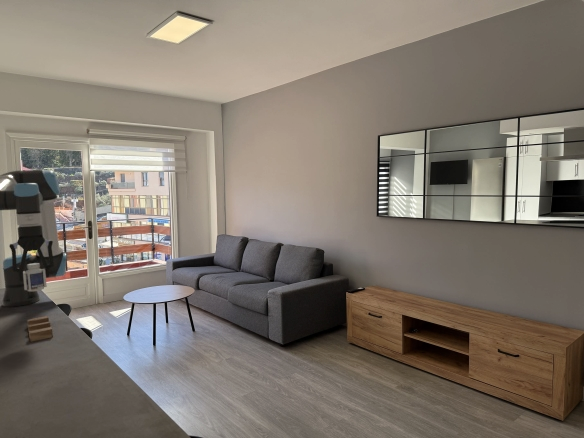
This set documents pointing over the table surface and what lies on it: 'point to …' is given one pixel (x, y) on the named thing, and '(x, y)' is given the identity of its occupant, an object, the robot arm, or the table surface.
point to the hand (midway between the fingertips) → (35, 287)
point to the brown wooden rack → (39, 328)
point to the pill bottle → (34, 277)
